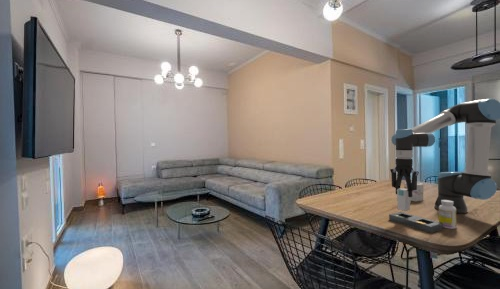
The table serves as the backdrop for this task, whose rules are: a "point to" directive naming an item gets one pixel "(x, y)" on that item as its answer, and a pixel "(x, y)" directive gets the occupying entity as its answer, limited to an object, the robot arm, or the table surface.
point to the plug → (402, 200)
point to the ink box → (416, 192)
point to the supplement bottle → (447, 214)
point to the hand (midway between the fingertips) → (403, 201)
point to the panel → (416, 222)
